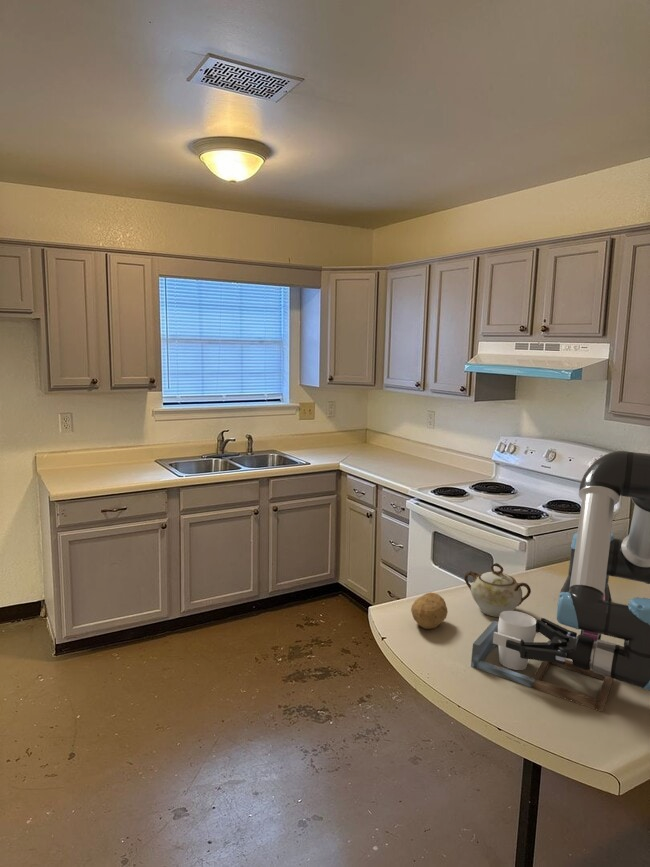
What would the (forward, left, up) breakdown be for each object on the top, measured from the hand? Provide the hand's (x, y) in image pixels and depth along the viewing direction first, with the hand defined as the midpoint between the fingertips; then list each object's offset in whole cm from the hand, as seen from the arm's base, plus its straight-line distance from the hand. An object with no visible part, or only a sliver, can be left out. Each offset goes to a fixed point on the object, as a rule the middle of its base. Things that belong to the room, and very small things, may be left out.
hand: (501, 627), depth 149 cm
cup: (-3, +2, -9) cm, 9 cm away
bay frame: (-7, +7, -8) cm, 14 cm away
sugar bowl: (-12, -27, -9) cm, 31 cm away
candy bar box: (-24, +1, -9) cm, 26 cm away
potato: (+12, -20, -9) cm, 24 cm away
